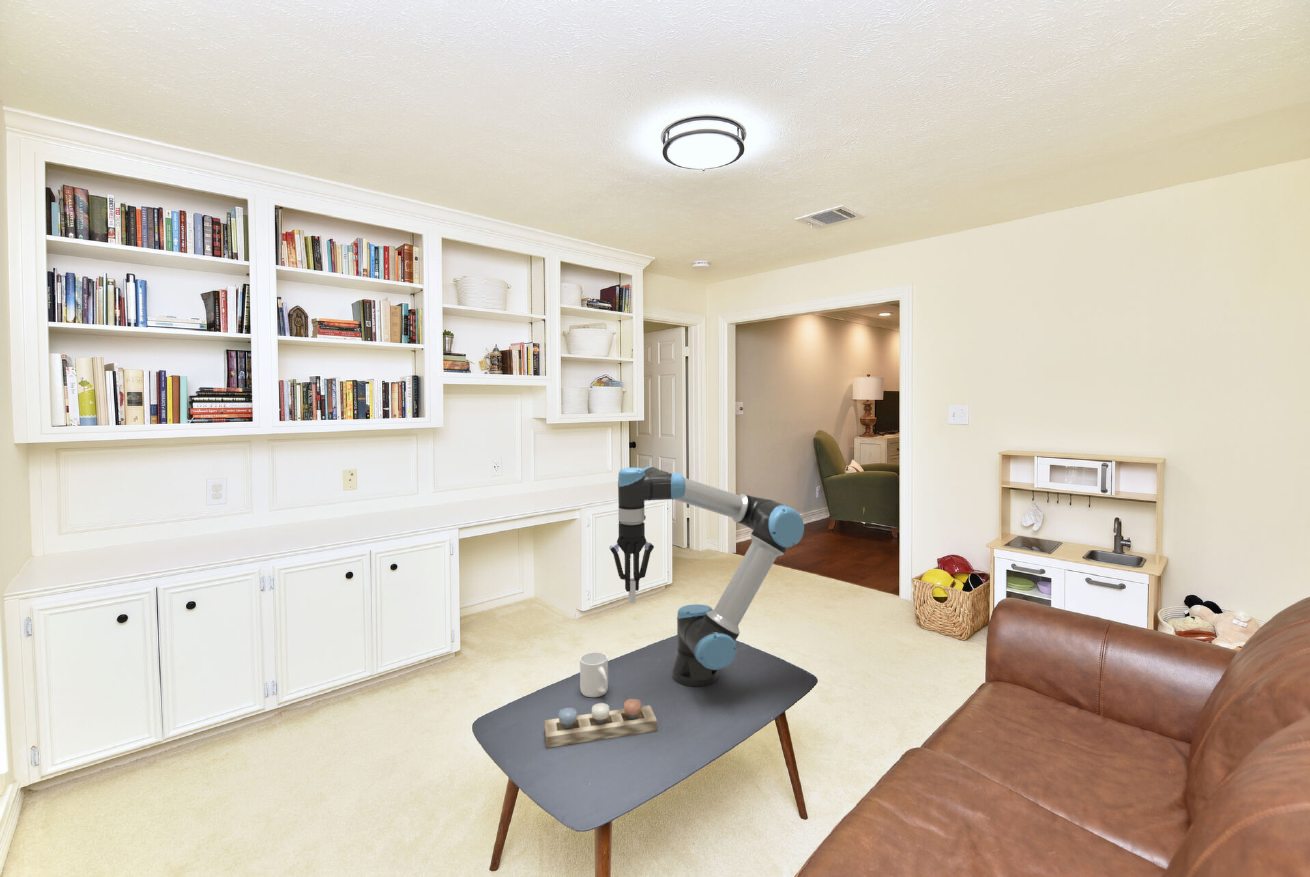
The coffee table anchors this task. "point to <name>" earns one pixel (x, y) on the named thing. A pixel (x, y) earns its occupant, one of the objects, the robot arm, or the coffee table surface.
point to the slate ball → (567, 717)
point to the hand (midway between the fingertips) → (632, 601)
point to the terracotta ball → (632, 708)
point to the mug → (594, 674)
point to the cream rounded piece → (600, 713)
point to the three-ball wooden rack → (599, 727)
